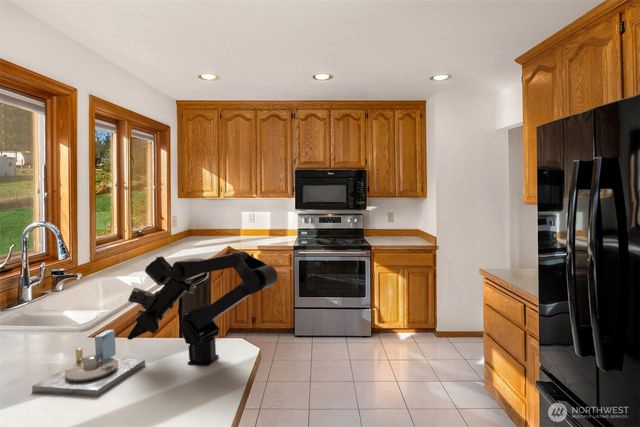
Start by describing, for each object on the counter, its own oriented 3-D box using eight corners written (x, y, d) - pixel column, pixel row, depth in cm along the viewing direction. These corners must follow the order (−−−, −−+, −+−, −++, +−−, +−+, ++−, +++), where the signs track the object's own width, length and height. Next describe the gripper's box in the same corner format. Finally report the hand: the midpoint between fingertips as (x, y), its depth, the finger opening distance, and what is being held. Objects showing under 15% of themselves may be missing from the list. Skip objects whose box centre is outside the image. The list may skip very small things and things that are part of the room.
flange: (98, 381, 97) (97, 349, 97) (53, 380, 98) (51, 348, 98) (132, 358, 111) (131, 329, 111) (92, 357, 113) (91, 329, 112)
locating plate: (145, 365, 111) (144, 343, 110) (97, 396, 93) (95, 371, 93) (88, 362, 114) (87, 341, 114) (32, 392, 96) (31, 367, 96)
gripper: (149, 272, 122) (110, 312, 119) (142, 283, 104) (97, 331, 101) (177, 295, 124) (140, 335, 121) (176, 310, 107) (133, 357, 104)
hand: (128, 338), depth 112 cm, fingers closed
